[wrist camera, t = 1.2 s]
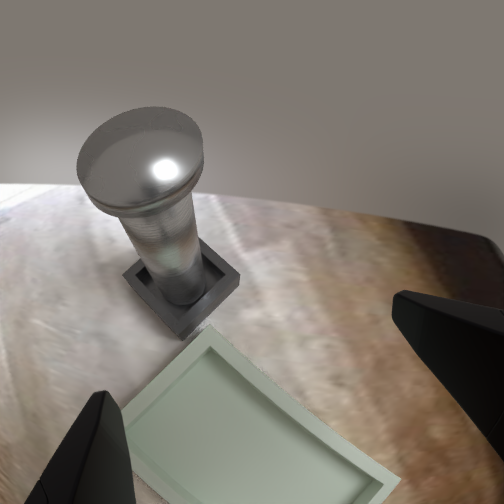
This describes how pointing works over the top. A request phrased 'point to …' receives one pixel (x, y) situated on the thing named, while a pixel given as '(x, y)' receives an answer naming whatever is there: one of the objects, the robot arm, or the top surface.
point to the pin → (151, 191)
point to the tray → (240, 438)
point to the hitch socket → (191, 315)
